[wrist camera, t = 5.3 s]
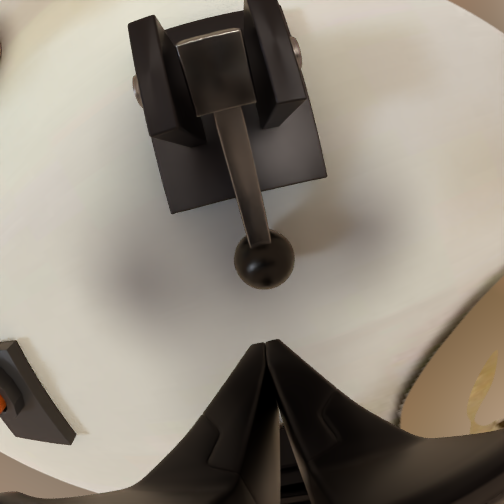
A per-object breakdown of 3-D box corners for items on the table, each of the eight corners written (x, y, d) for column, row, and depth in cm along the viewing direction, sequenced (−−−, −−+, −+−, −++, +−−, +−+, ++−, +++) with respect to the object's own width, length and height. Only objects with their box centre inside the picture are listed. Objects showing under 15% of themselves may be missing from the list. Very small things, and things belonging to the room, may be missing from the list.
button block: (76, 434, 24) (65, 457, 21) (21, 428, 24) (9, 446, 21) (16, 340, 21) (-5, 360, 17) (-32, 345, 21) (-49, 361, 18)
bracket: (322, 176, 18) (387, 190, 9) (175, 211, 18) (121, 253, 10) (278, 12, 15) (301, -73, 6) (137, 47, 15) (72, -15, 7)
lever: (290, 252, 19) (303, 293, 16) (238, 265, 19) (244, 307, 17) (246, 24, 10) (258, 25, 8) (169, 43, 10) (157, 50, 8)
